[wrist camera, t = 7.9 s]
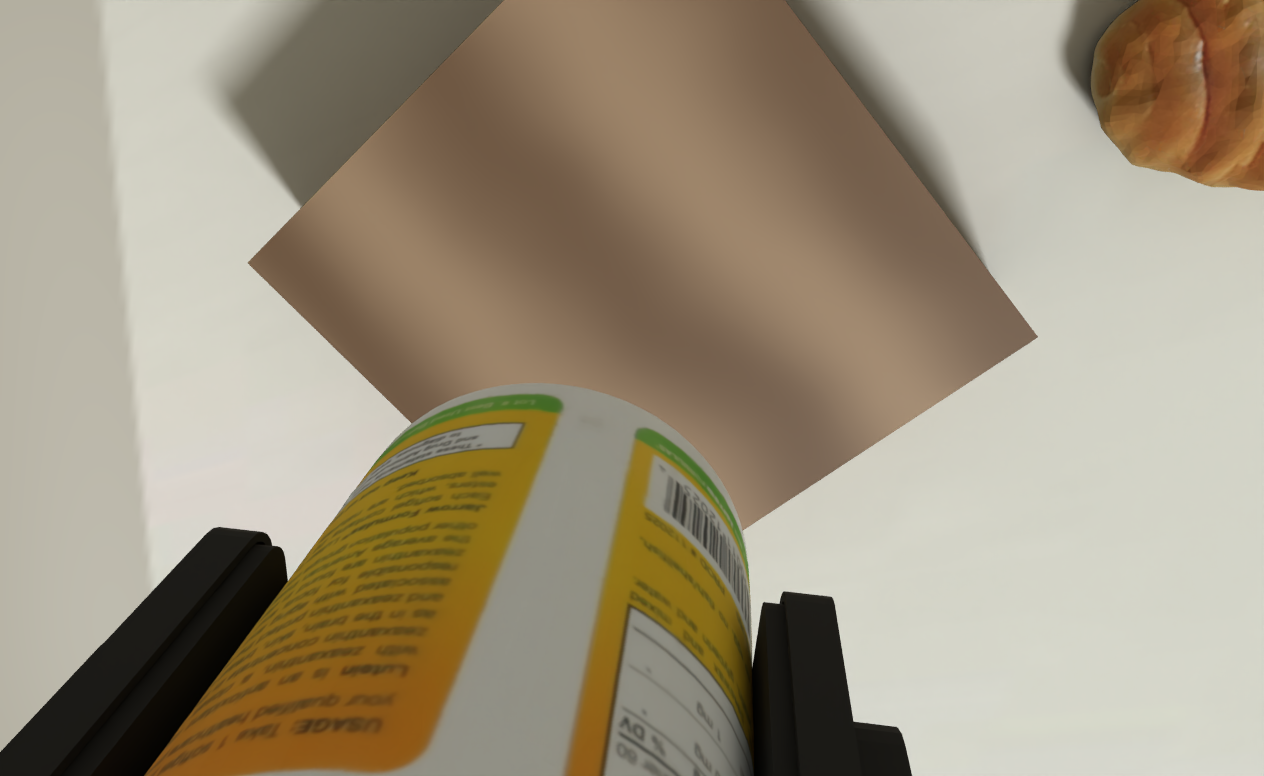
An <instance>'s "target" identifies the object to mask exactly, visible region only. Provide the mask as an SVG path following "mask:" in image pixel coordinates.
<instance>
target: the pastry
mask: <svg viewBox="0 0 1264 776" xmlns="http://www.w3.org/2000/svg"><path fill="white" fill-rule="evenodd" d="M1091 93H1092V97H1093V100H1094V103H1095V106H1096V109H1097V112H1098V116H1099V120H1100V125H1101V128H1102V129H1103V131H1104V132H1105V134H1106V135H1107V136H1108V137H1109V138H1110V140H1111V141H1112V142H1113V143H1114V144H1115V145H1116V146H1117V147H1118V149H1119V150H1120V151H1121V152H1122V154H1123V155H1124V156H1125V157H1126V158H1127V160H1128V161H1129V162H1130V163H1131V164H1132V165H1135V166H1139V167H1145V168H1150V169H1154V170H1158V171H1164V172H1173V173H1177V174H1179V175H1181V176H1184V177H1186V178H1188V179H1191V180H1193V181H1195V182H1198V183H1201V184H1204V185H1207V186H1210V187H1239V188H1244V189H1249V190H1260V191H1264V0H1139V1H1137V2H1136V3H1135V4H1133V5H1132V6H1131V7H1129V8H1128V9H1127V10H1125V11H1124V12H1123V13H1121V14H1120V15H1119V16H1118V17H1117V18H1116V19H1115V20H1114V21H1113V22H1112V23H1111V24H1110V26H1109V27H1108V28H1107V29H1106V31H1105V32H1104V34H1103V35H1102V37H1101V38H1100V40H1099V41H1098V43H1097V45H1096V48H1095V52H1094V59H1093V66H1092V72H1091Z"/></svg>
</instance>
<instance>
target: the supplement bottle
mask: <svg viewBox="0 0 1264 776" xmlns="http://www.w3.org/2000/svg"><path fill="white" fill-rule="evenodd" d="M144 776H754V722H753V686H752V634H751V603H750V585H749V570H748V561H747V551H746V544H745V539H744V535H743V531H742V527H741V523H740V520H739V517H738V514H737V512H736V509H735V507H734V505H733V502H732V500H731V498H730V496H729V494H728V492H727V490H726V488H725V486H724V485H723V483H722V481H721V480H720V478H719V477H718V475H717V474H716V472H715V471H714V470H713V468H712V467H711V466H710V464H709V463H708V462H707V461H706V460H705V458H704V457H703V456H702V455H701V454H700V453H699V452H698V451H697V450H696V449H695V447H694V446H693V445H692V444H691V443H690V442H688V441H687V440H686V439H685V438H684V437H683V436H682V435H681V434H679V433H678V432H677V431H676V430H675V429H673V428H672V427H670V426H669V425H668V424H666V423H665V422H663V421H662V420H660V419H659V418H658V417H656V416H654V415H652V414H651V413H649V412H647V411H645V410H643V409H641V408H640V407H637V406H635V405H633V404H631V403H629V402H627V401H624V400H622V399H619V398H616V397H613V396H611V395H608V394H604V393H601V392H597V391H594V390H591V389H586V388H581V387H575V386H569V385H561V384H549V383H523V384H511V385H502V386H497V387H492V388H487V389H483V390H479V391H475V392H472V393H469V394H466V395H463V396H460V397H457V398H455V399H452V400H450V401H448V402H446V403H444V404H442V405H440V406H438V407H436V408H434V409H432V410H431V411H429V412H428V413H426V414H425V415H423V416H422V417H420V418H419V419H418V420H416V421H415V422H413V423H412V424H411V425H410V426H409V427H407V428H406V429H405V430H404V431H403V432H402V433H401V434H400V435H399V436H398V437H397V438H396V439H395V440H394V441H393V442H392V443H391V444H390V445H389V447H388V448H387V449H386V450H385V451H384V453H383V454H382V455H381V456H380V457H379V458H378V460H377V461H376V462H375V463H374V465H373V466H372V467H371V469H370V470H369V471H368V473H367V474H366V476H365V477H364V478H363V480H362V481H361V482H360V484H359V485H358V486H357V488H356V489H355V490H354V491H353V493H352V494H351V495H350V496H349V498H348V500H347V501H346V502H345V504H344V505H343V507H342V509H341V510H340V511H339V513H338V514H337V516H336V517H335V518H334V520H333V521H332V522H331V523H330V525H329V526H328V527H327V528H326V530H325V531H324V533H323V534H322V535H321V537H320V538H319V539H318V541H317V542H316V543H315V545H314V546H313V548H312V549H311V550H310V552H309V553H308V554H307V556H306V557H305V559H304V560H303V561H302V563H301V564H300V565H299V567H298V568H297V570H296V571H295V572H294V574H293V575H292V577H291V578H290V579H289V581H288V582H287V583H286V585H285V586H284V587H283V589H282V590H281V591H280V593H279V594H278V595H277V597H276V598H275V599H274V601H273V602H272V603H271V605H270V606H269V607H268V609H267V610H266V611H265V613H264V614H263V615H262V617H261V618H260V620H259V621H258V622H257V624H256V625H255V626H254V628H253V629H252V630H251V632H250V633H249V634H248V636H247V637H246V639H245V640H244V641H243V643H242V644H241V645H240V647H239V648H238V649H237V651H236V652H235V653H234V655H233V656H232V657H231V659H230V660H229V662H228V663H227V664H226V666H225V667H224V668H223V670H222V671H221V672H220V674H219V675H218V676H217V678H216V679H215V680H214V682H213V683H212V684H211V686H210V687H209V689H208V690H207V691H206V693H205V694H204V695H203V697H202V698H201V700H200V701H199V702H198V704H197V705H196V707H195V708H194V709H193V711H192V712H191V714H190V715H189V716H188V717H187V719H186V720H185V721H184V722H183V724H182V725H181V726H180V728H179V729H178V731H177V732H176V733H175V735H174V736H173V738H172V739H171V740H170V742H169V743H168V745H167V746H166V747H165V749H164V750H163V751H162V753H161V754H160V755H159V757H158V758H157V759H156V761H155V762H154V763H153V765H152V766H151V767H150V769H149V770H148V771H147V773H146V774H145V775H144Z"/></svg>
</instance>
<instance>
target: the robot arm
mask: <svg viewBox="0 0 1264 776" xmlns="http://www.w3.org/2000/svg"><path fill="white" fill-rule="evenodd" d="M287 582H288V579H287V570H286V562H285V556H284V552H283V550H282V549H281V548H280V547H278V546H272V543H271V539H270V538H269V536H268V535H267V534H266V533H264V532H257V531H249V530H240V529H231V528H222V527H217V528H213V529H212V530H210V531H209V532H208V533H207V534H206V535H205V536H204V537H203V538H202V539H201V540H200V541H199V542H198V543H197V544H196V545H195V547H194V548H193V549H192V550H191V551H190V552H189V553H188V554H187V555H186V556H185V557H184V558H183V559H182V560H181V561H180V562H179V564H178V565H177V566H176V567H175V568H174V569H173V570H172V571H171V572H170V573H169V574H168V575H167V576H166V577H165V578H164V580H163V581H162V582H161V583H160V584H159V585H158V586H157V587H156V588H155V589H154V590H153V591H152V592H151V593H150V594H149V596H148V597H147V598H146V599H145V600H144V601H143V602H142V603H141V604H140V605H139V606H138V607H137V608H136V609H135V610H134V612H133V613H132V614H131V615H130V616H129V617H128V618H127V619H126V620H125V621H124V622H123V623H122V624H121V625H120V626H119V627H118V629H117V630H116V631H115V632H114V633H113V634H112V635H111V636H110V637H109V638H108V639H107V640H106V641H105V642H104V643H103V644H102V645H101V646H100V647H99V648H98V649H97V650H96V651H95V652H94V653H93V654H92V655H91V656H90V657H89V658H88V659H87V661H86V662H85V663H84V664H83V665H82V666H81V667H80V668H79V669H78V670H77V671H76V672H75V673H74V674H73V675H72V676H71V678H70V679H69V680H68V681H67V682H66V683H65V684H64V685H63V686H62V687H61V688H60V689H59V690H58V691H57V692H56V694H54V696H53V697H52V698H51V699H50V700H49V701H48V702H47V703H46V704H45V705H44V706H43V707H42V708H41V709H40V710H39V712H38V713H37V714H36V715H35V716H34V717H33V718H32V719H31V720H30V721H29V722H28V723H27V724H26V725H25V726H24V728H23V729H22V730H21V731H20V732H19V733H18V734H17V735H16V736H15V737H14V738H13V739H12V740H11V741H10V743H8V744H7V746H6V747H5V748H4V749H3V750H2V751H1V752H0V776H144V775H145V774H146V773H147V771H148V770H149V769H150V767H151V766H152V765H153V763H154V762H155V761H156V759H157V758H158V757H159V755H160V754H161V753H162V751H163V750H164V749H165V747H166V746H167V745H168V743H169V742H170V740H171V739H172V738H173V736H174V735H175V733H176V732H177V731H178V729H179V728H180V726H181V725H182V724H183V722H184V721H185V720H186V719H187V717H188V716H189V715H190V714H191V712H192V711H193V709H194V708H195V707H196V705H197V704H198V702H199V701H200V700H201V698H202V697H203V695H204V694H205V693H206V691H207V690H208V689H209V687H210V686H211V684H212V683H213V682H214V680H215V679H216V678H217V676H218V675H219V674H220V672H221V671H222V670H223V668H224V667H225V666H226V664H227V663H228V662H229V660H230V659H231V657H232V656H233V655H234V653H235V652H236V651H237V649H238V648H239V647H240V645H241V644H242V643H243V641H244V640H245V639H246V637H247V636H248V634H249V633H250V632H251V630H252V629H253V628H254V626H255V625H256V624H257V622H258V621H259V620H260V618H261V617H262V615H263V614H264V613H265V611H266V610H267V609H268V607H269V606H270V605H271V603H272V602H273V601H274V599H275V598H276V597H277V595H278V594H279V593H280V591H281V590H282V589H283V587H284V586H285V585H286V583H287ZM752 686H753V722H754V776H912V774H911V769H910V765H909V760H908V756H907V751H906V747H905V743H904V740H903V737H902V733H901V732H900V731H899V729H898V728H897V727H892V726H884V725H876V724H868V723H859V722H853V716H852V710H851V704H850V698H849V691H848V685H847V679H846V673H845V666H844V660H843V654H842V648H841V641H840V635H839V629H838V623H837V616H836V610H835V604H834V600H833V598H832V597H828V596H819V595H810V594H802V593H793V592H783V593H782V596H781V599H780V604H775V603H766V602H764V603H763V605H762V609H761V615H760V622H759V628H758V635H757V641H756V648H755V654H754V661H753V667H752Z"/></svg>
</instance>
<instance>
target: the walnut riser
mask: <svg viewBox="0 0 1264 776" xmlns="http://www.w3.org/2000/svg"><path fill="white" fill-rule="evenodd" d="M248 264H249V265H250V266H251V267H252V268H253V269H254V270H255V271H256V272H257V273H258V274H259V275H260V276H261V277H263V278H264V279H265V280H266V281H267V282H268V283H269V284H270V285H271V286H272V287H273V288H274V289H275V290H276V291H277V292H278V293H279V294H280V295H281V296H282V297H283V298H284V299H285V300H286V301H287V302H288V303H289V304H290V305H291V306H292V307H293V308H294V309H295V310H296V311H297V312H298V313H299V314H300V315H301V316H302V317H303V318H304V319H306V320H307V321H308V322H309V323H310V324H311V325H312V326H313V327H314V328H315V329H316V330H317V331H318V332H319V333H320V334H321V335H322V336H323V337H324V338H325V339H326V340H327V341H328V342H329V343H330V344H331V345H332V346H333V347H334V348H335V349H336V350H337V351H338V352H339V353H340V354H341V355H342V356H343V357H344V358H345V359H346V360H348V361H349V362H350V363H351V364H352V365H353V366H354V367H355V368H356V369H357V370H358V371H359V372H360V373H361V374H362V375H363V376H364V377H365V378H366V379H367V380H368V381H369V382H370V383H371V384H372V385H373V386H374V387H375V388H376V389H377V390H378V391H379V392H380V393H381V394H382V395H383V396H384V397H385V398H386V399H387V400H388V401H389V402H391V403H392V404H393V405H394V406H395V407H396V408H397V409H398V410H399V411H400V412H401V413H402V414H403V415H404V416H405V417H406V418H407V419H408V420H409V421H410V422H411V423H413V422H415V421H416V420H418V419H419V418H420V417H422V416H423V415H425V414H426V413H428V412H429V411H431V410H432V409H434V408H436V407H438V406H440V405H442V404H444V403H446V402H448V401H450V400H452V399H455V398H457V397H460V396H463V395H466V394H469V393H472V392H475V391H479V390H483V389H487V388H492V387H497V386H502V385H511V384H523V383H549V384H561V385H569V386H575V387H581V388H586V389H591V390H594V391H597V392H601V393H604V394H608V395H611V396H613V397H616V398H619V399H622V400H624V401H627V402H629V403H631V404H633V405H635V406H637V407H640V408H641V409H643V410H645V411H647V412H649V413H651V414H652V415H654V416H656V417H658V418H659V419H660V420H662V421H663V422H665V423H666V424H668V425H669V426H670V427H672V428H673V429H675V430H676V431H677V432H678V433H679V434H681V435H682V436H683V437H684V438H685V439H686V440H687V441H688V442H690V443H691V444H692V445H693V446H694V447H695V449H696V450H697V451H698V452H699V453H700V454H701V455H702V456H703V457H704V458H705V460H706V461H707V462H708V463H709V464H710V466H711V467H712V468H713V470H714V471H715V472H716V474H717V475H718V477H719V478H720V480H721V481H722V483H723V485H724V486H725V488H726V490H727V492H728V494H729V496H730V498H731V500H732V502H733V505H734V507H735V509H736V512H737V514H738V517H739V520H740V523H741V527H742V531H743V530H744V529H746V528H747V527H749V526H750V525H752V524H753V523H755V522H756V521H758V520H759V519H761V518H762V517H764V516H766V515H767V514H769V513H770V512H772V511H773V510H775V509H776V508H778V507H779V506H781V505H782V504H784V503H785V502H787V501H788V500H790V499H792V498H793V497H795V496H796V495H798V494H799V493H801V492H802V491H804V490H805V489H807V488H808V487H810V486H811V485H813V484H814V483H816V482H817V481H819V480H821V479H822V478H824V477H825V476H827V475H828V474H830V473H831V472H833V471H834V470H836V469H837V468H839V467H840V466H842V465H843V464H845V463H847V462H848V461H850V460H851V459H853V458H854V457H856V456H857V455H859V454H860V453H862V452H863V451H865V450H866V449H868V448H869V447H871V446H872V445H874V444H876V443H877V442H879V441H880V440H882V439H883V438H885V437H886V436H888V435H889V434H891V433H892V432H894V431H895V430H897V429H898V428H900V427H902V426H903V425H905V424H906V423H908V422H909V421H911V420H912V419H914V418H915V417H917V416H918V415H920V414H921V413H923V412H924V411H926V410H927V409H929V408H931V407H932V406H934V405H935V404H937V403H938V402H940V401H941V400H943V399H944V398H946V397H947V396H949V395H950V394H952V393H953V392H955V391H956V390H958V389H960V388H961V387H963V386H964V385H966V384H967V383H969V382H970V381H972V380H973V379H975V378H976V377H978V376H979V375H981V374H982V373H984V372H986V371H987V370H989V369H990V368H992V367H993V366H995V365H996V364H998V363H999V362H1001V361H1002V360H1004V359H1005V358H1007V357H1008V356H1010V355H1011V354H1013V353H1015V352H1016V351H1018V350H1019V349H1021V348H1022V347H1024V346H1025V345H1027V344H1028V343H1030V342H1031V341H1033V340H1034V339H1036V338H1037V337H1038V336H1037V335H1036V334H1035V333H1034V331H1033V330H1032V329H1031V327H1030V326H1029V325H1028V323H1027V322H1026V321H1025V319H1024V318H1023V317H1022V315H1021V314H1020V313H1019V311H1018V310H1017V309H1016V307H1015V306H1014V305H1013V303H1012V302H1011V301H1010V299H1009V298H1008V297H1007V295H1006V294H1005V293H1004V291H1003V290H1002V289H1001V287H1000V286H999V285H998V283H997V282H996V281H995V279H994V278H993V277H992V275H991V274H990V273H989V271H988V270H987V269H986V267H985V266H984V265H983V263H982V262H981V261H980V259H979V258H978V257H977V255H976V254H975V253H974V251H973V250H972V249H971V247H970V246H969V245H968V243H967V242H966V241H965V239H964V238H963V237H962V235H961V234H960V233H959V231H958V230H957V229H956V227H955V226H954V225H953V223H952V222H951V221H950V219H949V218H948V217H947V215H946V214H945V213H944V211H943V210H942V209H941V207H940V206H939V205H938V203H937V202H936V201H935V199H934V198H933V197H932V195H931V194H930V193H929V191H928V190H927V189H926V187H925V186H924V185H923V183H922V182H921V181H920V179H919V178H918V177H917V175H916V174H915V173H914V171H913V170H912V169H911V167H910V166H909V165H908V163H907V162H906V161H905V159H904V158H903V157H902V155H901V154H900V153H899V151H898V150H897V149H896V147H895V146H894V145H893V143H892V142H891V141H890V139H889V138H888V137H887V135H886V134H885V133H884V131H883V130H882V129H881V127H880V126H879V125H878V123H877V122H876V121H875V120H874V118H873V117H872V116H871V114H870V113H869V112H868V110H867V109H866V108H865V106H864V105H863V104H862V102H861V101H860V100H859V98H858V97H857V96H856V94H855V93H854V92H853V90H852V89H851V88H850V86H849V85H848V84H847V82H846V81H845V80H844V78H843V77H842V76H841V74H840V73H839V72H838V70H837V69H836V68H835V66H834V65H833V64H832V62H831V61H830V60H829V58H828V57H827V56H826V54H825V53H824V52H823V50H822V49H821V48H820V46H819V45H818V44H817V42H816V41H815V40H814V38H813V37H812V36H811V34H810V33H809V32H808V30H807V29H806V28H805V26H804V25H803V24H802V22H801V21H800V20H799V18H798V17H797V16H796V14H795V13H794V12H793V10H792V9H791V8H790V6H789V5H788V4H787V2H786V1H785V0H504V1H503V2H502V3H501V4H500V5H499V6H498V7H497V8H496V9H495V10H494V11H493V12H492V13H491V14H490V15H489V16H488V17H487V18H486V19H485V20H484V21H483V22H482V23H481V24H480V25H479V26H478V27H477V28H476V29H475V30H474V31H473V32H472V33H471V34H470V35H469V37H468V38H467V39H466V40H465V41H464V42H463V43H462V44H461V45H460V46H459V47H458V48H457V49H456V50H455V51H454V52H453V53H452V54H451V55H450V56H449V57H448V58H447V59H446V60H445V61H444V62H443V63H442V64H441V65H440V66H439V67H438V68H437V69H436V70H435V71H434V72H433V73H432V74H431V75H430V76H429V78H428V79H427V80H426V81H425V82H424V83H423V84H422V85H421V86H420V87H419V88H418V89H417V90H416V91H415V92H414V93H413V94H412V95H411V96H410V97H409V98H408V99H407V100H406V101H405V102H404V103H403V104H402V105H401V106H400V107H399V108H398V109H397V110H396V111H395V112H394V113H393V114H392V115H391V116H390V117H389V118H388V120H387V121H386V122H385V123H384V124H383V125H382V126H381V127H380V128H379V129H378V130H377V131H376V132H375V133H374V134H373V135H372V136H371V137H370V138H369V139H368V140H367V141H366V142H365V143H364V144H363V145H362V146H361V147H360V148H359V149H358V150H357V151H356V152H355V153H354V154H353V155H352V156H351V157H350V158H349V159H348V161H347V162H346V163H345V164H344V165H343V166H342V167H341V168H340V169H339V170H338V171H337V172H336V173H335V174H334V175H333V176H332V177H331V178H330V179H329V180H328V181H327V182H326V183H325V184H324V185H323V186H322V187H321V188H320V189H319V190H318V191H317V192H316V193H315V194H314V195H313V196H312V197H311V198H310V199H309V200H308V201H307V203H306V204H305V205H304V206H303V207H302V208H301V209H300V210H299V211H298V212H297V213H296V214H295V215H294V216H293V217H292V218H291V219H290V220H289V221H288V222H287V223H286V224H285V225H284V226H283V227H282V228H281V229H280V230H279V231H278V232H277V233H276V234H275V235H274V236H273V237H272V238H271V239H270V240H269V241H268V242H267V244H266V245H265V246H264V247H263V248H262V249H261V250H260V251H259V252H258V253H257V254H256V255H255V256H254V257H253V258H252V259H251V260H250V261H249V262H248Z"/></svg>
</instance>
